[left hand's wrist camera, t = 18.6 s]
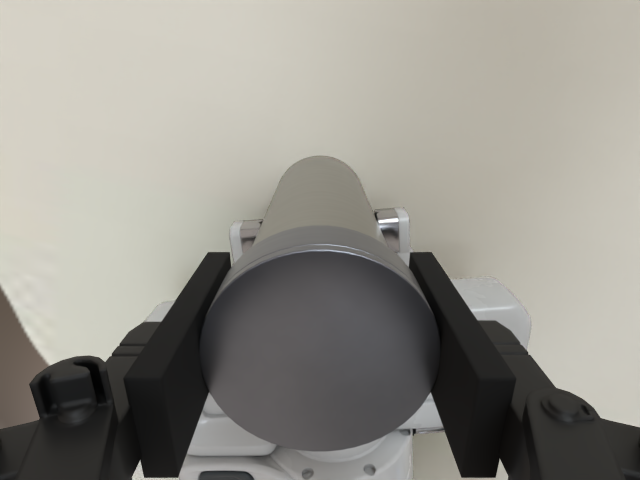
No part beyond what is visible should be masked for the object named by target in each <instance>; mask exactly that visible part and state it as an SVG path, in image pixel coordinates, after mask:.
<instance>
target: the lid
mask: <svg viewBox="0 0 640 480" xmlns="http://www.w3.org/2000/svg"><path fill="white" fill-rule="evenodd" d="M440 354H441V339H440V333H439V328H438V325H437V322H436V319H435V317H434V314H433V312H432V310H431V308H430V306H429V304H428V302H427V300H426V298H425V296H424V294H423V292H422V290H421V288H420V286H419V284H418V282H417V280H416V278H415V277H414V275H413V273H412V271H411V270H410V269H409V267H408V266H407V265H406V263H405V262H404V261H403V260H402V259H401V258H400V257H399V256H398V255H397V254H396V253H395V252H394V251H393V250H391V249H390V248H389V247H387V246H386V245H385V244H383V243H382V242H380V241H378V240H376V239H374V238H373V237H371V236H368V235H366V234H363V233H361V232H358V231H355V230H351V229H347V228H343V227H336V226H328V225H312V226H304V227H297V228H293V229H289V230H285V231H282V232H279V233H277V234H274V235H272V236H269V237H267V238H266V239H264V240H262V241H260V242H258V243H257V244H255V245H254V246H253V247H251V248H250V249H249V250H247V251H246V252H245V253H244V254H243V255H242V256H241V257H240V258H239V259H238V260H237V261H236V262H235V263H234V265H233V266H232V267H231V269H230V270H229V271H228V273H227V275H226V277H225V278H224V280H223V282H222V284H221V286H220V288H219V290H218V292H217V294H216V296H215V298H214V300H213V302H212V304H211V306H210V308H209V310H208V312H207V314H206V317H205V319H204V322H203V325H202V328H201V333H200V338H199V356H200V364H201V371H202V375H203V378H204V381H205V384H206V386H207V388H208V390H209V392H210V394H211V396H212V397H213V399H214V400H215V402H216V403H217V405H218V406H219V407H220V408H221V409H222V411H223V412H224V413H225V414H226V415H227V416H228V417H229V418H230V419H231V420H233V421H234V422H235V423H236V424H237V425H239V426H240V427H241V428H243V429H244V430H246V431H247V432H249V433H251V434H253V435H254V436H256V437H258V438H260V439H263V440H265V441H267V442H270V443H272V444H275V445H279V446H282V447H285V448H290V449H295V450H302V451H312V452H328V451H338V450H345V449H350V448H355V447H358V446H361V445H364V444H368V443H370V442H373V441H375V440H377V439H380V438H382V437H384V436H386V435H387V434H389V433H391V432H393V431H394V430H396V429H397V428H398V427H400V426H401V425H403V424H404V423H405V422H406V421H407V420H408V419H410V418H411V417H412V416H413V415H414V414H415V413H416V412H417V410H418V409H419V408H420V407H421V406H422V405H423V403H424V402H425V400H426V399H427V397H428V395H429V394H430V392H431V390H432V388H433V386H434V383H435V381H436V378H437V375H438V369H439V362H440Z"/></svg>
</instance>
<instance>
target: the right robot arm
mask: <svg viewBox="0 0 640 480" xmlns="http://www.w3.org/2000/svg"><path fill="white" fill-rule="evenodd" d="M374 215H375V218H376V220H377V223H378V225H379V227H380V230H381V232H382V234H383V237H384V239H385V241H386V244H387V246H388V247H389V248H390V249H391V250H393V251H394V252H395V253H397V255H398V256H399V257H400V258H401V259H402V260H403V261H404V262H405V263H406V265H407V266H408V267H409V258H410V252H414V251H413V249H412V248H411V246H410V221H409V215H408V213H407V211H406V210H405V208H404V207H399V208H387V209H377V210H374ZM262 222H263V219H260V220H245V221H244V220H242V221H234V223H233V224H232V226H231V227H230V233H229V234H230V244H231V249H232V255H233V261H234V263H235V262H236V261H237V260H238V259H239V258H240V257H241V256H242V255H243V254H244V253H245V252H246V251H247V250H249V249H250V248H251V247H252V246H253V243H254V241H255V239H256V236H257V234H258V232H259V229H260V227H261V224H262ZM234 263H233V265H234ZM233 265H232V266H233ZM451 282H452V283H453V285H454V286H455V288H456V289H457V291H458V292H459V294H460V295H461V297H462V298H463V300H464V301H465V303H466V304H467V306H468V307H469V309H470V310H471V312H472V313H473V314H474V316H475V317H476V319H477V320H496V321H497V322H499V323H500V324H502V325H503V326H505V327H506V328H508V329H509V330H511V331H512V333H513V334H514V335H515V336H516V338H517V339H518V340H519V341H520V345H523V347H524V348H525V349H526V350H527V348H528V343H529V338H530V332H531V318H530V315H529V313H528V311H527V310H526V308H525V307H524V305H523V304H522V303H521V302H520V300H519V299H518V298H517V297H516V296H515V295H514V294H513V293H512V292H511V291H510V290H509V289H508V288H507V287H506V286H505V285H503V284H502V283H501V282H500V281H499V280H498V279H496V278H494V277H476V278H464V279H451ZM174 302H175V301H167V302H162V303H160V304H159V305H157V306H156V307H155V309H154V310H153V311H152V312H151V313H150V315H149V316H148V317H147V318H146V319H145V321H144V322H161V321H162V320H163V319H164V317H165V316H166V314H167V313H168V311H169V310H170V308H171V307H172V305H173V304H174ZM439 432H445V430H444V428H443V425H442V422H441V419H440V417H439V414H438V411H437V408H436V406H435V403H434V400H433V397H432V394H431V392H430V394H429V395H428V397H427V399H426V400H425V402H424V403H423V405H422V406H421V407H420V408H419V409H418V410H417V412H416V413H415V414H414V415H413V416H412V417H411V418H410V419H408V420H407V421H406V422H405V423H404V424H403V425H401V426H400V427H398V428H397V429H396V430H394V431H393V432H391V433H389V434H387V435H386V436H384V437H382V438H380V439H377V440H375V441H373V442H370V443H368V444H364V445H361V446H358V447H355V448H350V449H345V450H338V451H328V452H312V451H302V450H295V449H290V448H285V447H282V446H279V445H275V444H272V443H270V442H267V441H265V440H263V439H260V438H258V437H256V436H254V435H253V434H251V433H249V432H247V431H246V430H244V429H243V428H241V427H240V426H239V425H237V424H236V423H235V422H234V421H233V420H231V419H230V418H229V417H228V416H227V415H226V414H225V413H224V412H223V411H222V409H221V408H220V407H219V406H218V405H217V403H216V402H215V400H214V399H213V397H212V396H211V394H210V392H209V394H208V397H207V399H206V402H205V405H204V408H203V410H202V413H201V416H200V419H199V421H198V424H197V427H196V430H195V432H194V435H193V438H192V441H191V443H190V446H189V449H188V452H187V454H186V457H185V460H184V463H183V466H182V468H181V471H180V474H179V480H413V436H414V434H425V433H439Z"/></svg>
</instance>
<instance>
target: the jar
mask: <svg viewBox="0 0 640 480" xmlns="http://www.w3.org/2000/svg"><path fill="white" fill-rule="evenodd" d="M312 225H328V226H336V227H343V228H347V229H351V230H355V231H358V232H361V233H363V234H366V235H368V236H371V237H373V238H374V239H376V240H378V241H380V242H382V243H383V244H385V245H386V246H387V244H386V241H385V239H384V237H383V234H382V232H381V230H380V227H379V225H378V223H377V220H376V218H375V215H374V213H373V211H372V208H371V206H370V204H369V201H368V199H367V197H366V194H365V192H364V190H363V187H362V185H361V183H360V180H359V178H358V177H357V175H356V174H355V172H354V171H353V170H352V169H351V168H350V167H349V166H348V165H346V164H345V163H343V162H342V161H340V160H338V159H335V158H332V157H328V156H313V157H308V158H305V159H302V160H300V161H298V162H297V163H295V164H294V165H292V166H291V167H290V168H289V169H288V170H287V171H286V172H285V174H284V175H283V176H282V178H281V180H280V182H279V185H278V187H277V189H276V192H275V194H274V196H273V199H272V201H271V203H270V206H269V208H268V210H267V213H266V215H265V217H264V220H263V222H262V224H261V227H260V229H259V232H258V234H257V236H256V239H255V241H254V243H253V246H254V245H255V244H257V243H258V242H260V241H262V240H264V239H266V238H267V237H269V236H272V235H274V234H277V233H279V232H282V231H285V230H289V229H293V228H297V227H304V226H312ZM253 246H252V247H253ZM387 247H388V246H387Z"/></svg>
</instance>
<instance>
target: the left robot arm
mask: <svg viewBox="0 0 640 480" xmlns="http://www.w3.org/2000/svg"><path fill="white" fill-rule="evenodd" d="M230 269H231V261H230V252H208V253H207V255H206V256H205V258H204V259H203V261H202V262H201V264H200V265H199V267H198V268H197V270H196V271H195V273H194V274H193V276H192V277H191V279H190V280H189V281H188V283H187V284H186V286H185V287H184V289H183V290H182V292H181V293H180V295H179V296H178V298H177V299H176V301H175V302H174V304H173V305H172V307H171V308H170V310H169V311H168V313H167V314H166V316H165V317H164V319H163V320H162V321H161V322H143V323H141V324H140V325H138V326H137V327H136V328H134V329H133V330H131V331H130V332H129V333H128V334H127V335H126V336H125V338H124V339H123V340H122V342H121V343H120V346H118V347H117V348H116V349H115V351H114V352H113V353H112V356H110V357H109V358H108V359H107V361H106V362H104V361H103V360H102V359H100V358H99V357H94V356H77V357H73V358H69V359H65V360H62V361H60V362H57V363H55V364H53V365H51V366H49V367H47V368H46V369H44V370H43V371H42V372H40V373H39V374H37V375H36V376H35V378H34V379H33V380H32V381H31V383H30V384H29V385H30V388H31V391H32V394H33V398H34V401H35V404H36V407H37V410H38V413H39V417H40V419H39V420H37V421H34V422H30V423H26V424H22V425H17V426H13V427H8V428H4V429H0V480H132V476H133V473H134V471H135V469H136V467H137V465H138V463H139V461H140V460H141V465H142V469H143V474H144V478H178V477H179V474H180V471H181V468H182V466H183V463H184V460H185V457H186V454H187V452H188V449H189V446H190V443H191V441H192V438H193V435H194V432H195V430H196V427H197V424H198V421H199V419H200V416H201V413H202V410H203V408H204V405H205V402H206V399H207V397H208V394H209V390H208V388H207V386H206V384H205V381H204V378H203V375H202V371H201V364H200V356H199V338H200V333H201V328H202V325H203V322H204V319H205V317H206V314H207V312H208V310H209V308H210V306H211V304H212V302H213V300H214V298H215V296H216V294H217V292H218V290H219V288H220V286H221V284H222V282H223V280H224V278H225V277H226V275H227V273H228V271H229V270H230ZM409 269H410V270H411V271H412V273H413V275H414V277H415V278H416V280H417V282H418V284H419V286H420V288H421V290H422V292H423V294H424V296H425V298H426V300H427V302H428V304H429V306H430V308H431V310H432V312H433V314H434V317H435V319H436V322H437V325H438V328H439V333H440V339H441V354H440V362H439V369H438V375H437V378H436V381H435V383H434V386H433V388H432V390H431V394H432V397H433V400H434V403H435V406H436V408H437V411H438V414H439V417H440V419H441V422H442V425H443V428H444V430H445V433H446V436H447V439H448V441H449V444H450V447H451V450H452V452H453V455H454V458H455V461H456V463H457V466H458V469H459V472H460V474H461V477H462V478H496V473H497V468H498V464H499V459H501V462H502V464H503V466H504V468H505V470H506V472H507V474H508V476H509V477H508V480H640V427H635V426H631V425H626V424H622V423H618V422H613V421H609V420H605V419H602V418H600V417H599V415H598V414H597V412H596V411H595V409H594V408H593V407H592V406H591V405H589V404H588V403H587V402H586V401H585V400H583V399H582V398H580V397H578V396H576V395H574V394H572V393H570V392H567V391H564V390H561V389H558V388H556V387H555V386H554V385H553V384H552V382H551V381H550V380H549V378H548V377H547V376H546V375H545V373H544V372H543V371H542V370H541V368H540V367H539V366H538V364H537V363H536V362H535V361H534V359H533V358H532V357H531V355H528V352H527V350H526V349H525V348H524V347H523V345H520V341H519V340H518V339H517V338H516V336H515V335H514V334H513V333H512V331H511V330H509V329H508V328H506V327H505V326H503V325H502V324H500V323H499V322H497V321H496V320H477V319H476V317H475V316H474V314H473V313H472V312H471V310H470V309H469V307H468V306H467V304H466V303H465V301H464V300H463V298H462V297H461V295H460V294H459V292H458V291H457V289H456V288H455V286H454V285H453V283H452V282H451V280H450V279H449V277H448V276H447V274H446V273H445V271H444V270H443V269H442V267H441V266H440V264H439V263H438V261H437V260H436V258H435V257H434V255H433V254H432V252H410V258H409Z"/></svg>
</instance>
